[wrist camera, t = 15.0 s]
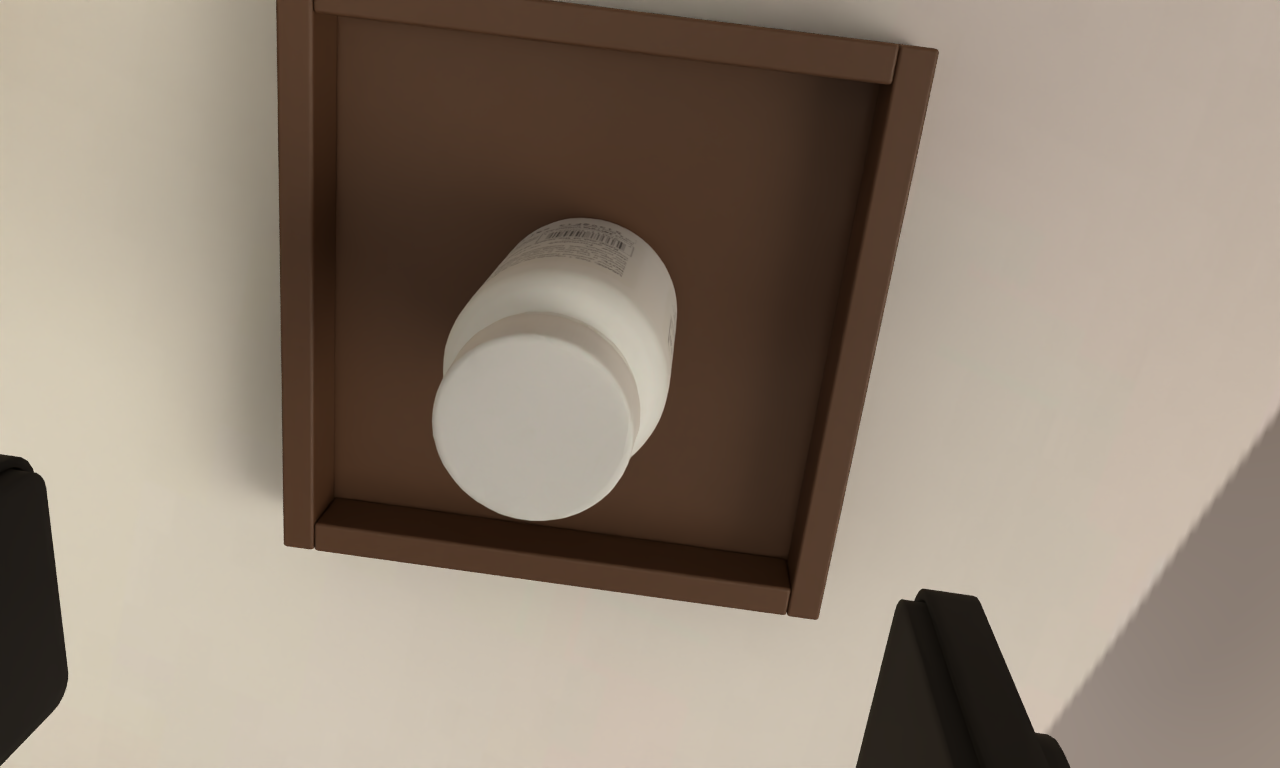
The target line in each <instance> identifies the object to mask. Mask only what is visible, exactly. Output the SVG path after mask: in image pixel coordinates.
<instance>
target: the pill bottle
mask: <svg viewBox="0 0 1280 768" xmlns="http://www.w3.org/2000/svg"><path fill="white" fill-rule="evenodd" d="M676 320H677V301H676V294H675V290H674V286H673V283H672V280H671V278H670V275H669V273H668V271H667V269H666V267H665V265H664V263H663V262H662V261H661V259H660V258H659V256H658V255H657V254H656V252H655V251H654V250H653V249H652V248H651V247H650V246H649V244H647V243H646V242H645V241H644V240H643V239H641V238H640V237H639V236H637V235H636V234H634V233H633V232H631V231H629V230H628V229H626V228H623V227H621V226H619V225H616V224H614V223H611V222H607V221H603V220H599V219H590V218H569V219H564V220H560V221H556V222H553V223H551V224H548V225H546V226H543V227H541V228H539V229H537V230H536V231H534V232H532V233H531V234H529V235H528V236H527V237H525V238H524V239H523V240H522V241H521V242H520V243H519V244H518V245H517V246H516V247H515V248H514V249H513V250H512V251H511V252H510V253H509V254H508V256H507V257H506V258H505V259H504V260H503V261H502V263H501V264H500V265H499V266H498V267H497V268H496V270H495V271H494V272H493V273H492V274H491V276H490V277H489V278H488V279H487V280H486V281H485V283H484V284H483V285H482V286H481V287H480V288H479V290H478V291H477V292H476V293H475V295H474V296H473V297H472V298H471V299H470V301H469V302H468V303H467V305H466V306H465V307H464V309H463V310H462V312H461V313H460V314H459V316H458V318H457V319H456V321H455V323H454V325H453V327H452V329H451V331H450V334H449V337H448V340H447V343H446V346H445V352H444V361H443V379H442V381H441V383H440V386H439V388H438V390H437V393H436V397H435V401H434V406H433V413H432V428H433V437H434V440H435V445H436V448H437V451H438V454H439V456H440V459H441V461H442V463H443V465H444V466H445V468H446V469H447V471H448V472H449V474H450V475H451V477H452V478H453V479H454V481H455V482H456V483H457V484H458V485H459V487H460V488H461V489H462V490H463V491H464V492H466V493H467V494H468V495H469V496H470V497H472V498H473V499H474V500H475V501H477V502H478V503H480V504H482V505H484V506H485V507H487V508H489V509H491V510H493V511H495V512H497V513H499V514H502V515H505V516H509V517H512V518H516V519H522V520H529V521H547V520H555V519H561V518H566V517H569V516H572V515H575V514H578V513H580V512H582V511H584V510H586V509H588V508H590V507H591V506H593V505H595V504H596V503H598V502H599V501H601V500H602V499H603V498H604V497H605V496H606V495H607V494H609V493H610V491H611V490H612V489H613V488H614V487H615V485H616V484H617V483H618V481H619V480H620V478H621V477H622V475H623V473H624V471H625V469H626V467H627V465H628V463H629V460H630V458H631V457H632V456H633V455H634V454H635V453H636V452H637V451H638V450H639V449H640V448H641V447H642V446H643V445H644V443H645V442H646V441H647V439H648V438H649V437H650V435H651V434H652V432H653V431H654V429H655V428H656V426H657V424H658V422H659V420H660V418H661V415H662V412H663V410H664V406H665V403H666V399H667V394H668V390H669V384H670V377H671V368H672V360H673V351H674V341H675V333H676Z"/></svg>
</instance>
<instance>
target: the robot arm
mask: <svg viewBox="0 0 1280 768" xmlns="http://www.w3.org/2000/svg"><path fill="white" fill-rule="evenodd" d="M67 682H68V667H67V659H66V650H65V642H64V634H63V625H62V617H61V608H60V600H59V592H58V583H57V575H56V566H55V558H54V550H53V541H52V533H51V524H50V516H49V508H48V499H47V491H46V486H45V482H44V480H43V478H42V477H41V476H40V475H39V474H37V473H34V471H33V468H32V467H31V465H30V464H29V462H28V461H27V460H25V459H23V458H22V457H15V456H8V455H2V454H0V766H1V765H2V764H3V763H4V762H5V761H6V760H7V759H8V758H9V757H10V755H11V754H12V753H13V752H14V751H15V750H16V749H17V748H18V747H19V746H20V745H21V744H22V743H23V742H24V741H25V740H26V739H27V738H28V737H29V736H30V735H31V734H32V733H33V732H34V731H35V729H36V728H37V727H38V726H39V725H40V724H41V723H42V722H43V721H44V720H45V719H46V718H47V717H48V716H49V715H50V714H51V713H52V712H53V711H54V710H55V708H56V707H57V706H58V705H59V703H60V701H61V699H62V697H63V695H64V693H65V690H66V687H67ZM856 768H1070V766H1069V763H1068V761H1067V759H1066V757H1065V755H1064V753H1063V751H1062V749H1061V747H1060V746H1059V744H1058V742H1057V741H1056V740H1055V739H1054V738H1052V737H1051V736H1049V735H1047V734H1040V733H1035V732H1034V729H1033V727H1032V724H1031V722H1030V720H1029V717H1028V715H1027V713H1026V710H1025V708H1024V705H1023V703H1022V701H1021V698H1020V696H1019V693H1018V691H1017V689H1016V686H1015V684H1014V682H1013V679H1012V677H1011V674H1010V672H1009V670H1008V667H1007V665H1006V663H1005V660H1004V658H1003V655H1002V653H1001V651H1000V648H999V646H998V644H997V641H996V639H995V636H994V634H993V632H992V629H991V627H990V625H989V622H988V620H987V617H986V615H985V613H984V610H983V608H982V606H981V603H980V601H979V600H978V598H977V597H974V596H970V595H963V594H956V593H949V592H942V591H936V590H929V589H921V590H920V591H919V592H918V594H917V596H916V598H915V601H909V600H903V599H901V600H900V601H899V602H898V604H897V606H896V610H895V613H894V617H893V621H892V625H891V629H890V633H889V637H888V641H887V645H886V649H885V653H884V657H883V661H882V665H881V669H880V673H879V677H878V681H877V685H876V689H875V693H874V697H873V701H872V705H871V709H870V713H869V717H868V721H867V725H866V729H865V733H864V737H863V741H862V745H861V749H860V753H859V757H858V761H857V765H856Z"/></svg>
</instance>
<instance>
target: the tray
mask: <svg viewBox="0 0 1280 768" xmlns="http://www.w3.org/2000/svg"><path fill="white" fill-rule="evenodd" d="M276 14H277V86H278V158H279V229H280V301H281V372H282V444H283V516H284V545H286V546H290V547H297V548H304V549H313V548H314V547H315V549H316V550H318V551H325V552H333V553H340V554H347V555H354V556H361V557H369V558H376V559H383V560H390V561H398V562H405V563H412V564H419V565H426V566H434V567H441V568H448V569H455V570H463V571H470V572H477V573H484V574H491V575H499V576H506V577H513V578H520V579H528V580H535V581H542V582H549V583H556V584H564V585H571V586H578V587H585V588H592V589H600V590H607V591H614V592H621V593H629V594H636V595H643V596H650V597H657V598H665V599H672V600H679V601H686V602H694V603H701V604H708V605H715V606H722V607H730V608H737V609H744V610H751V611H758V612H766V613H773V614H780V615H785V614H786V612H787V615H788V616H792V617H799V618H807V619H814V620H817V619H818V617H819V613H820V608H821V603H822V599H823V594H824V589H825V585H826V580H827V575H828V571H829V566H830V561H831V557H832V552H833V547H834V542H835V538H836V533H837V528H838V524H839V519H840V514H841V510H842V505H843V500H844V496H845V491H846V486H847V481H848V477H849V472H850V467H851V463H852V458H853V453H854V449H855V444H856V439H857V435H858V430H859V425H860V420H861V416H862V411H863V406H864V402H865V397H866V392H867V388H868V383H869V378H870V373H871V369H872V364H873V359H874V355H875V350H876V345H877V341H878V336H879V331H880V327H881V322H882V317H883V312H884V308H885V303H886V298H887V294H888V289H889V284H890V280H891V275H892V270H893V266H894V261H895V256H896V251H897V247H898V242H899V237H900V233H901V228H902V223H903V219H904V214H905V209H906V205H907V200H908V195H909V190H910V186H911V181H912V176H913V172H914V167H915V162H916V158H917V153H918V148H919V144H920V139H921V134H922V129H923V125H924V120H925V115H926V111H927V106H928V101H929V97H930V92H931V87H932V83H933V78H934V73H935V68H936V64H937V59H938V54H939V52H938V50H937V49H934V48H927V47H919V46H911V45H903V44H895V43H887V42H879V41H871V40H863V39H855V38H847V37H839V36H831V35H823V34H815V33H807V32H799V31H791V30H783V29H775V28H767V27H759V26H751V25H743V24H735V23H727V22H719V21H711V20H703V19H695V18H687V17H679V16H671V15H663V14H655V13H646V12H638V11H630V10H622V9H614V8H606V7H598V6H590V5H582V4H574V3H566V2H558V1H550V0H276ZM569 218H590V219H599V220H603V221H607V222H611V223H614V224H616V225H619V226H621V227H623V228H626V229H628V230H629V231H631V232H633V233H634V234H636V235H637V236H639V237H640V238H641V239H643V240H644V241H645V242H646V243H647V244H649V246H650V247H651V248H652V249H653V250H654V251H655V252H656V254H657V255H658V256H659V258H660V259H661V261H662V262H663V263H664V265H665V267H666V269H667V271H668V273H669V275H670V278H671V280H672V283H673V286H674V290H675V294H676V301H677V320H676V333H675V341H674V351H673V360H672V368H671V377H670V384H669V390H668V394H667V399H666V403H665V406H664V410H663V412H662V415H661V418H660V420H659V422H658V424H657V426H656V428H655V429H654V431H653V432H652V434H651V435H650V437H649V438H648V439H647V441H646V442H645V443H644V445H643V446H642V447H641V448H640V449H639V450H638V451H637V452H636V453H635V454H634V455H633V456H632V457H631V458H630V460H629V463H628V465H627V467H626V469H625V471H624V473H623V475H622V477H621V478H620V480H619V481H618V483H617V484H616V485H615V487H614V488H613V489H612V490H611V491H610V493H609V494H607V495H606V496H605V497H604V498H603V499H602V500H601V501H599V502H598V503H596V504H595V505H593V506H591V507H590V508H588V509H586V510H584V511H582V512H580V513H578V514H575V515H572V516H569V517H566V518H561V519H555V520H547V521H529V520H522V519H516V518H512V517H509V516H505V515H502V514H499V513H497V512H495V511H493V510H491V509H489V508H487V507H485V506H484V505H482V504H480V503H478V502H477V501H475V500H474V499H473V498H472V497H470V496H469V495H468V494H467V493H466V492H464V491H463V490H462V489H461V488H460V487H459V485H458V484H457V483H456V482H455V481H454V479H453V478H452V477H451V475H450V474H449V472H448V471H447V469H446V468H445V466H444V465H443V463H442V461H441V459H440V456H439V454H438V451H437V448H436V445H435V440H434V437H433V428H432V413H433V406H434V401H435V397H436V393H437V390H438V388H439V386H440V383H441V381H442V379H443V361H444V352H445V346H446V343H447V340H448V337H449V334H450V331H451V329H452V327H453V325H454V323H455V321H456V319H457V318H458V316H459V314H460V313H461V312H462V310H463V309H464V307H465V306H466V305H467V303H468V302H469V301H470V299H471V298H472V297H473V296H474V295H475V293H476V292H477V291H478V290H479V288H480V287H481V286H482V285H483V284H484V283H485V281H486V280H487V279H488V278H489V277H490V276H491V274H492V273H493V272H494V271H495V270H496V268H497V267H498V266H499V265H500V264H501V263H502V261H503V260H504V259H505V258H506V257H507V256H508V254H509V253H510V252H511V251H512V250H513V249H514V248H515V247H516V246H517V245H518V244H519V243H520V242H521V241H522V240H523V239H524V238H525V237H527V236H528V235H529V234H531V233H532V232H534V231H536V230H537V229H539V228H541V227H543V226H546V225H548V224H551V223H553V222H556V221H560V220H564V219H569Z"/></svg>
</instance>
